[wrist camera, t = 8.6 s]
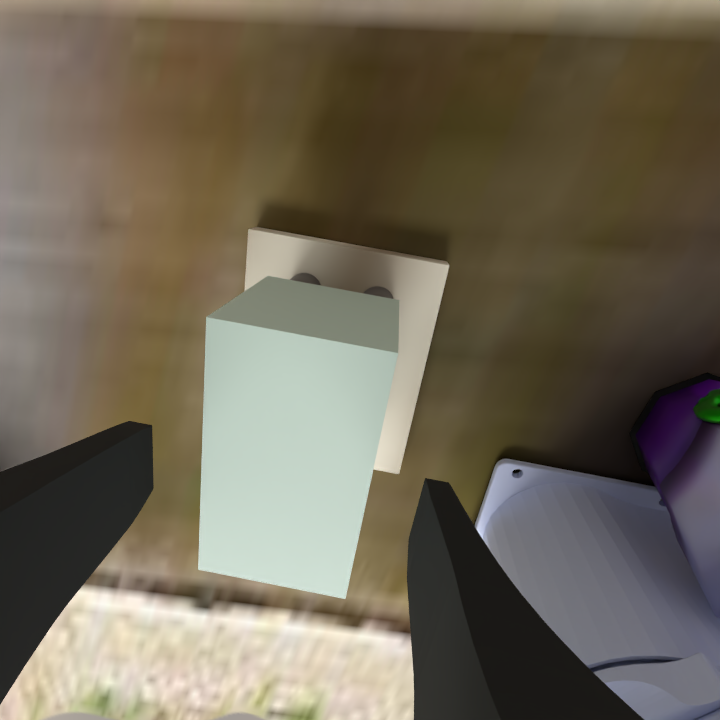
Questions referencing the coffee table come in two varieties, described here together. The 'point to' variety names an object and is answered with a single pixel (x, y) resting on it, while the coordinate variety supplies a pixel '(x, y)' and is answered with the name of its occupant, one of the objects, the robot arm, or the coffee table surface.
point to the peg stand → (374, 277)
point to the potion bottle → (687, 470)
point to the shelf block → (292, 430)
